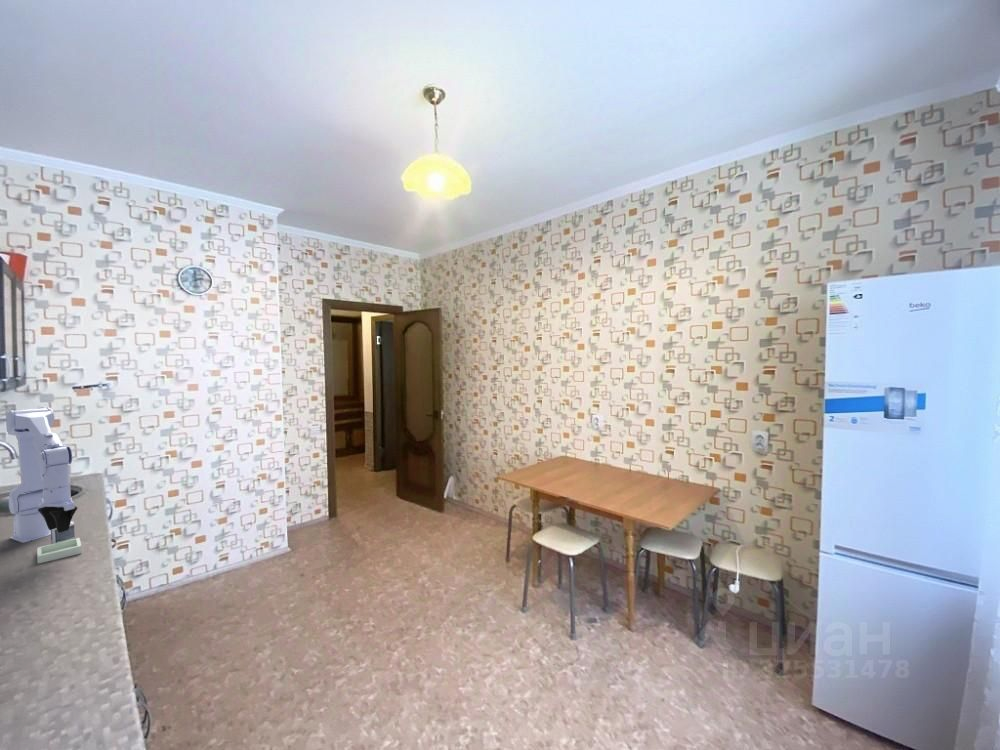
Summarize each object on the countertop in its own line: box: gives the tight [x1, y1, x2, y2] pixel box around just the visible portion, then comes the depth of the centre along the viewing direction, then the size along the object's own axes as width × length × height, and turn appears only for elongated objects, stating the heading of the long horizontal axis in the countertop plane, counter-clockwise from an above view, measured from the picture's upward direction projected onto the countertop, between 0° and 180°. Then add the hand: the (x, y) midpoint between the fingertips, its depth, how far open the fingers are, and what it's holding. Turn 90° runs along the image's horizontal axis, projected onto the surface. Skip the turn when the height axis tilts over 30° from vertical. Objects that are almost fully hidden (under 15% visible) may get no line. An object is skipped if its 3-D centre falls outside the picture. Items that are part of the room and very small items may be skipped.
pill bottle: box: [50, 520, 76, 544], centre depth 132 cm, size 5×5×9 cm
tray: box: [36, 537, 83, 564], centre depth 124 cm, size 9×9×2 cm
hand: (58, 529), depth 124 cm, fingers open, 5 cm apart
